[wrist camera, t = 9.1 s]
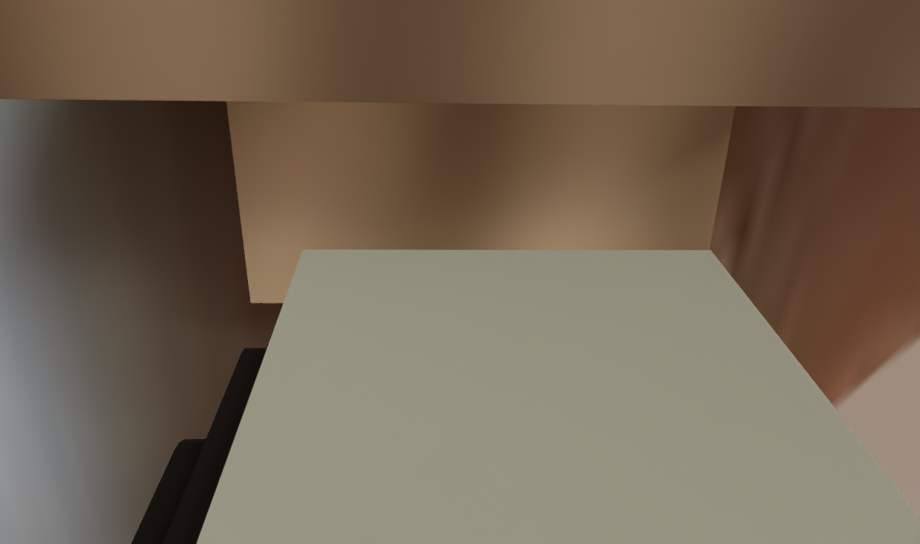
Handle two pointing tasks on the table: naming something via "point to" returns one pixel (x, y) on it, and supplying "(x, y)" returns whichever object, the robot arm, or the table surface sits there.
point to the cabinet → (540, 411)
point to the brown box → (468, 107)
